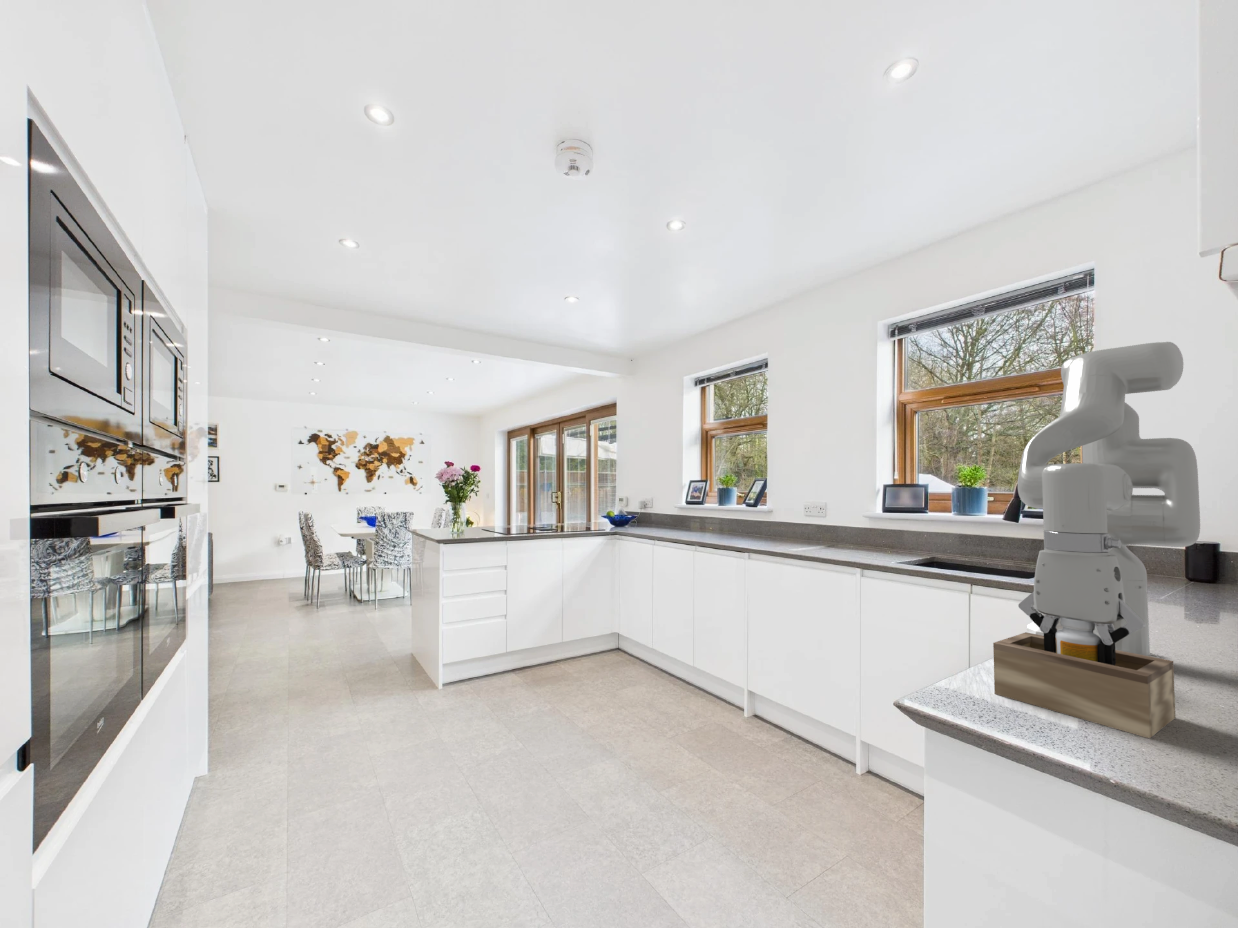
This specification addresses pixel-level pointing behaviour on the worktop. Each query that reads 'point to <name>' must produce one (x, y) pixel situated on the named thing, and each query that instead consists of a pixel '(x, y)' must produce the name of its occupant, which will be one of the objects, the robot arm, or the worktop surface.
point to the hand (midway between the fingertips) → (1078, 662)
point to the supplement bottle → (1077, 639)
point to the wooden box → (1087, 685)
